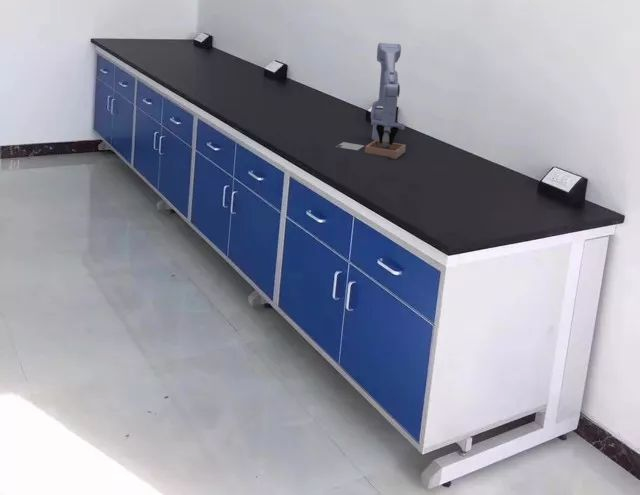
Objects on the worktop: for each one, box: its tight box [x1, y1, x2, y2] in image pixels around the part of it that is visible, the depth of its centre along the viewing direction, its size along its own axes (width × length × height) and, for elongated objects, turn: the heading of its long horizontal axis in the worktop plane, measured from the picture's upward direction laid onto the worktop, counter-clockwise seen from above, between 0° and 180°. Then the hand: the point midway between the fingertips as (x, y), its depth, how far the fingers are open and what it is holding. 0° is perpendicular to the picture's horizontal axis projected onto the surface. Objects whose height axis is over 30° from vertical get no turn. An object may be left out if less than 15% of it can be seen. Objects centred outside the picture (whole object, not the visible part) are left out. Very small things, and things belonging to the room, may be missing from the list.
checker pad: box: [335, 141, 365, 151], centre depth 345 cm, size 10×10×1 cm
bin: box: [364, 140, 407, 160], centre depth 340 cm, size 14×14×4 cm
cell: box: [381, 130, 391, 150], centre depth 338 cm, size 4×4×8 cm
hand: (386, 143), depth 339 cm, fingers closed on cell, 4 cm apart
